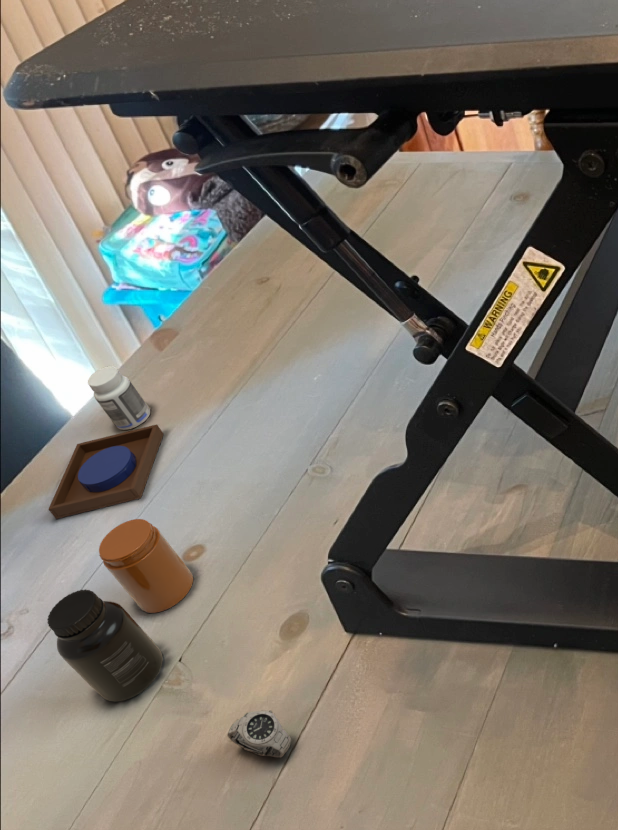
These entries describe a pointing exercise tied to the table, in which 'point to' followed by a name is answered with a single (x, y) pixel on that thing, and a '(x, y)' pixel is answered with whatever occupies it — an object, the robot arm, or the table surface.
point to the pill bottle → (118, 398)
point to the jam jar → (145, 565)
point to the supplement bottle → (104, 645)
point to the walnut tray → (80, 500)
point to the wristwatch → (260, 734)
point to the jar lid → (107, 469)
